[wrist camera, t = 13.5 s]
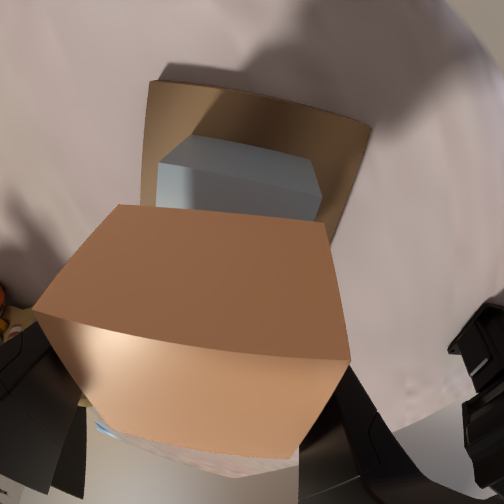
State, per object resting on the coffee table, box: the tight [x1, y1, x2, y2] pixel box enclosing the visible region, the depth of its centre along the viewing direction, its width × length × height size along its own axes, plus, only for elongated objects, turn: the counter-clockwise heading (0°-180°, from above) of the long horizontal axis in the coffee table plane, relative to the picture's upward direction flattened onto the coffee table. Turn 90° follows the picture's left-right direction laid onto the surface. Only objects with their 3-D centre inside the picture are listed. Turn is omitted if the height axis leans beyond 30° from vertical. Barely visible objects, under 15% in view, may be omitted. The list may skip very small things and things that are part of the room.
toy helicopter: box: [0, 285, 93, 407], centre depth 20 cm, size 8×21×14 cm, turn 89°
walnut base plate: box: [140, 80, 372, 244], centre depth 16 cm, size 11×11×1 cm
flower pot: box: [50, 406, 87, 499], centre depth 29 cm, size 19×19×17 cm
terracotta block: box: [31, 204, 351, 459], centre depth 8 cm, size 6×6×4 cm
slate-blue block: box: [156, 134, 322, 222], centre depth 14 cm, size 6×6×4 cm
